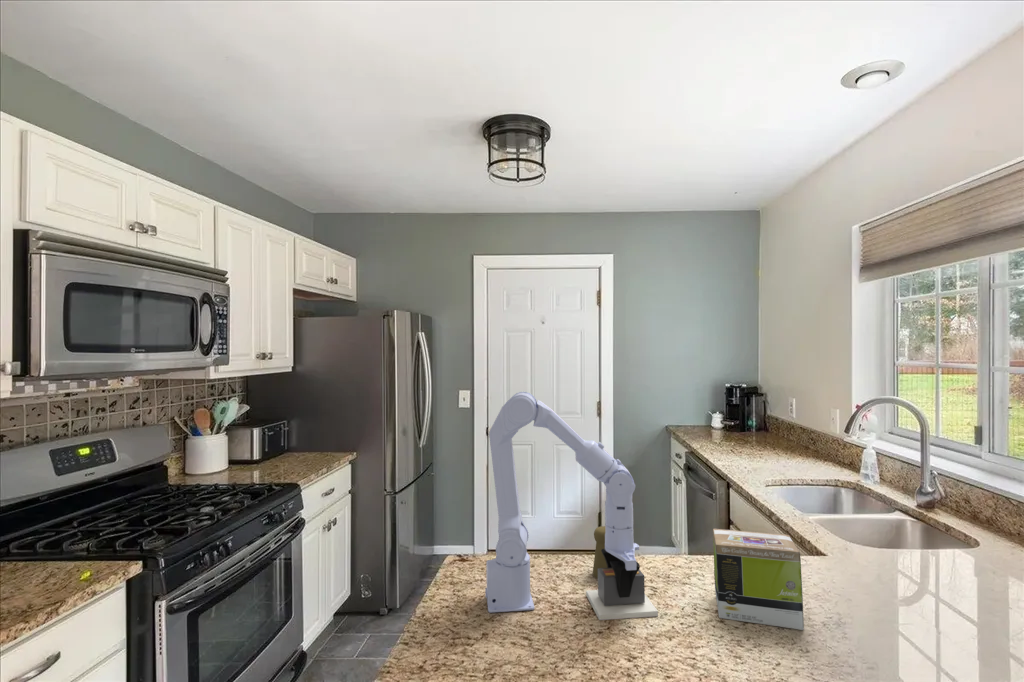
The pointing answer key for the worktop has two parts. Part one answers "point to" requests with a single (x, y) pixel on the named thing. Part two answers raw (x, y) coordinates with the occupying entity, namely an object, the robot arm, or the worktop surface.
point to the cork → (599, 550)
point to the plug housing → (610, 592)
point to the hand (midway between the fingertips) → (620, 590)
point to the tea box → (758, 578)
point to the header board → (620, 608)
